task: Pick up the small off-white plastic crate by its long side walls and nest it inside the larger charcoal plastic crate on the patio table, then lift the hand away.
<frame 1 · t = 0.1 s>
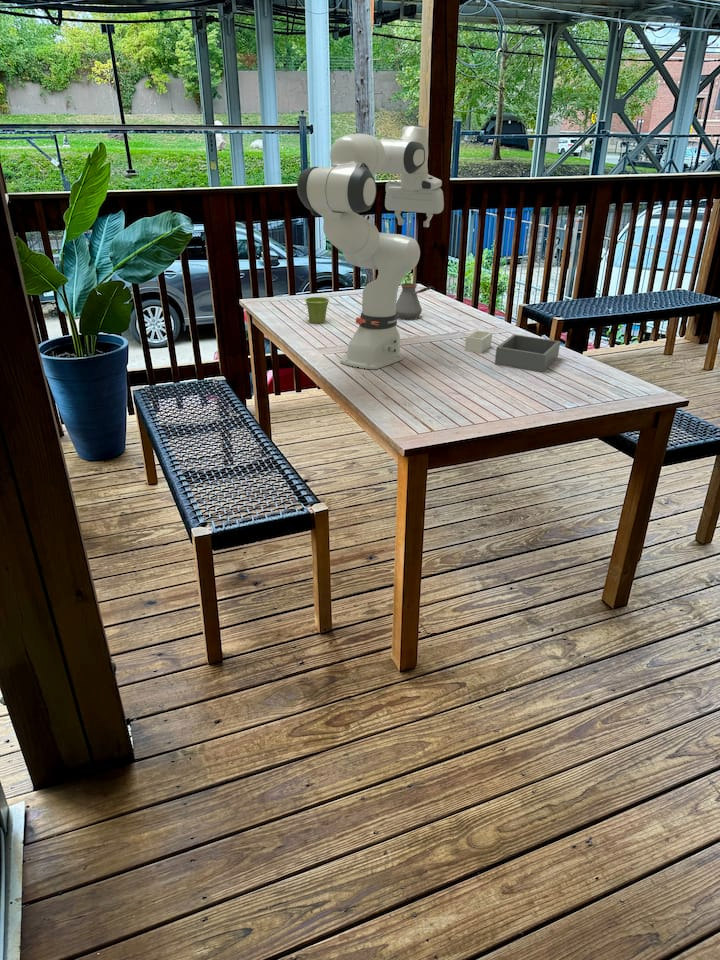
hand: (413, 225, 219), 39 cm above the table, tool pointing down, fingers open, 8 cm apart
big crate: (526, 361, 217), on the table
small crate: (477, 348, 229), on the table
plant pot: (317, 322, 257), on the table
coffee pot: (414, 320, 263), on the table
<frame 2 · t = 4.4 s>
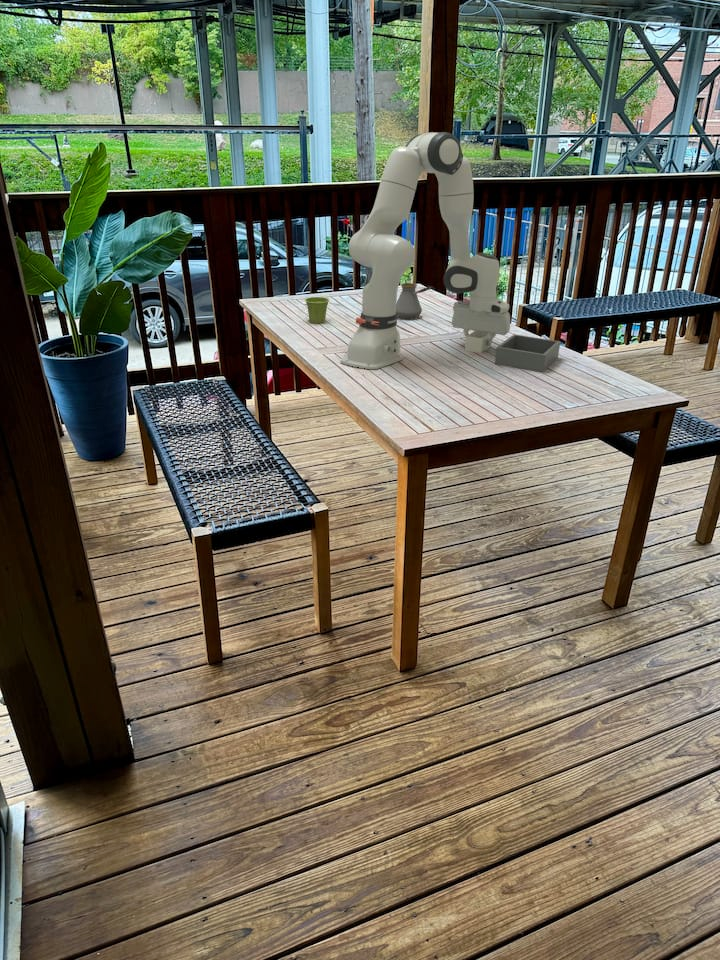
hand: (478, 343, 228), 2 cm above the table, tool pointing down, fingers closed on small crate, 6 cm apart
small crate: (477, 348, 229), on the table, touching gripper
everything else where it was.
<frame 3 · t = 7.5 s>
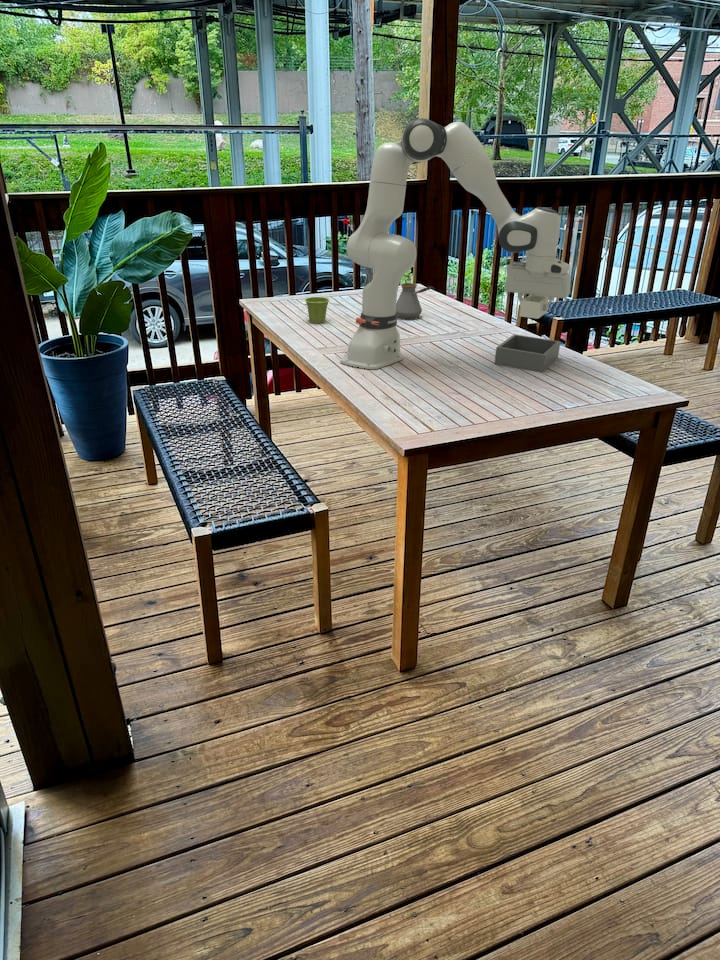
hand: (533, 308, 209), 17 cm above the table, tool pointing down, fingers closed on small crate, 6 cm apart
small crate: (533, 314, 209), point 15 cm above the table, touching gripper
everything else where it was.
when the fingers open (5 cm above the table, at t = 10.6 s): small crate drops 3 cm, resting on big crate.
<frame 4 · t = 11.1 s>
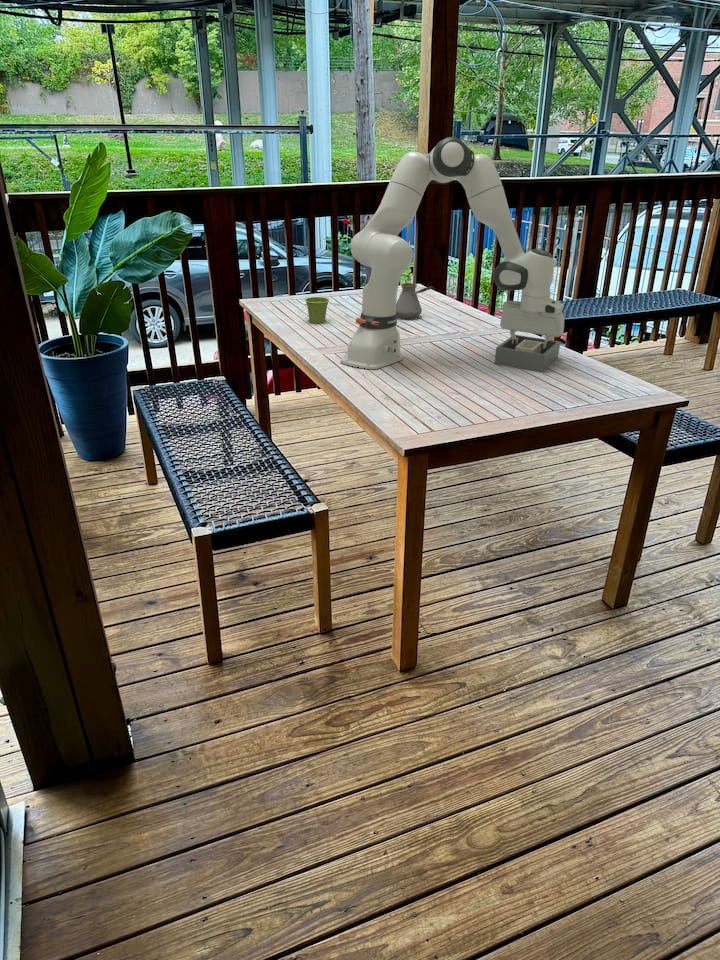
hand: (528, 345, 214), 5 cm above the table, tool pointing down, fingers open, 8 cm apart
big crate: (526, 362, 217), on the table, touching small crate
small crate: (527, 359, 216), point 1 cm above the table, touching big crate
everything else where it was.
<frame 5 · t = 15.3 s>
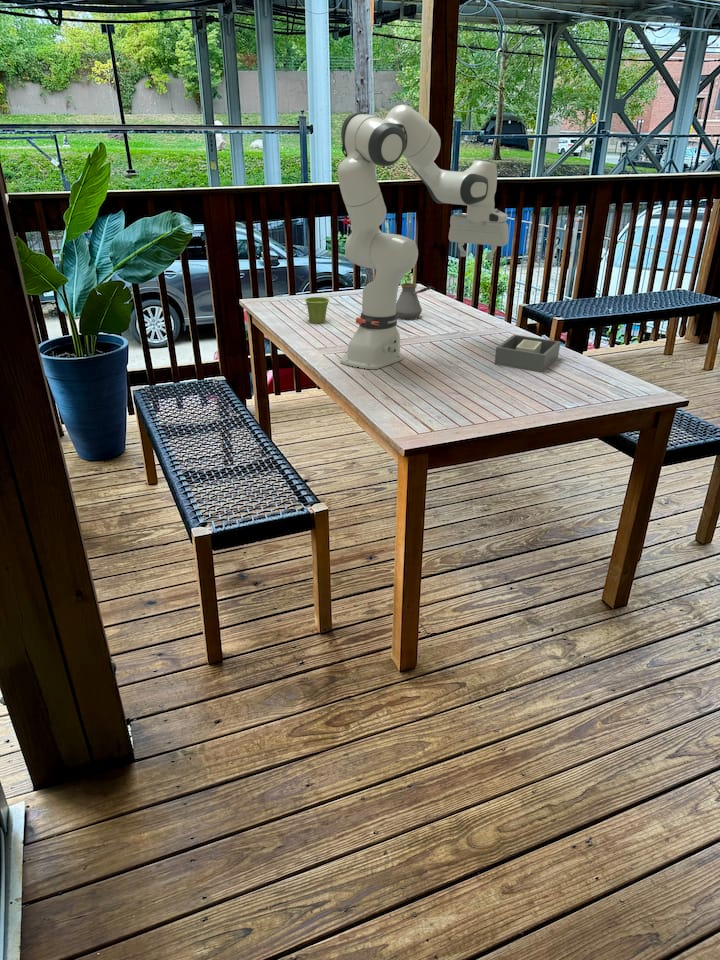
hand: (476, 257, 222), 29 cm above the table, tool pointing down, fingers open, 8 cm apart
nothing on the table moved.
at the end: small crate inside the target area on the big crate (0.1 cm from its centre), point 1.0 cm above the big crate's base; small crate tilted 0°; the gripper is holding nothing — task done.
